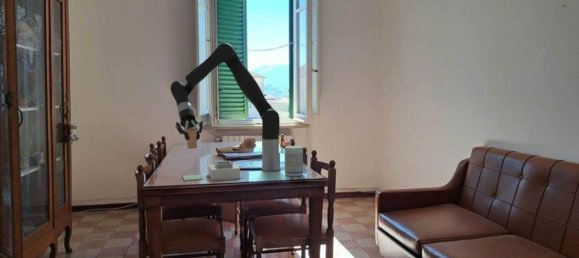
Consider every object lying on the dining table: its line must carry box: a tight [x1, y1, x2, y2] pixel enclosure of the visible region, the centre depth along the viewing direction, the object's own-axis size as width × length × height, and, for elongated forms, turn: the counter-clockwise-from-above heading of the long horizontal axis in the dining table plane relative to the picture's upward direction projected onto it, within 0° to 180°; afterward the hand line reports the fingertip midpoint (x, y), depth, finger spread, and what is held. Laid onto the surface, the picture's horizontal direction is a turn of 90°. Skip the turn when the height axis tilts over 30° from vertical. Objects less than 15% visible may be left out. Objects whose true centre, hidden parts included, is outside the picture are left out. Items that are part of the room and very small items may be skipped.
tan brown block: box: [186, 127, 198, 150], centre depth 209 cm, size 5×5×10 cm
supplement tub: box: [284, 145, 304, 178], centre depth 219 cm, size 10×10×15 cm
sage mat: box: [182, 174, 204, 182], centre depth 211 cm, size 9×9×1 cm
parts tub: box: [207, 160, 242, 181], centre depth 216 cm, size 16×13×7 cm
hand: (193, 139), depth 207 cm, fingers closed on tan brown block, 4 cm apart
